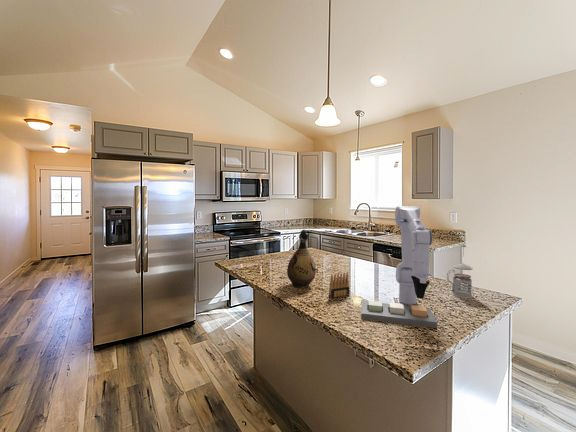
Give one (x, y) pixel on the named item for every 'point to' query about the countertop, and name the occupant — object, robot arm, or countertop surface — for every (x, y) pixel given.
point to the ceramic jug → (301, 265)
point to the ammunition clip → (339, 286)
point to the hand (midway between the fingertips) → (419, 296)
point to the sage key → (375, 306)
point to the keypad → (398, 316)
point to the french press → (461, 281)
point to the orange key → (418, 310)
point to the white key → (396, 308)
